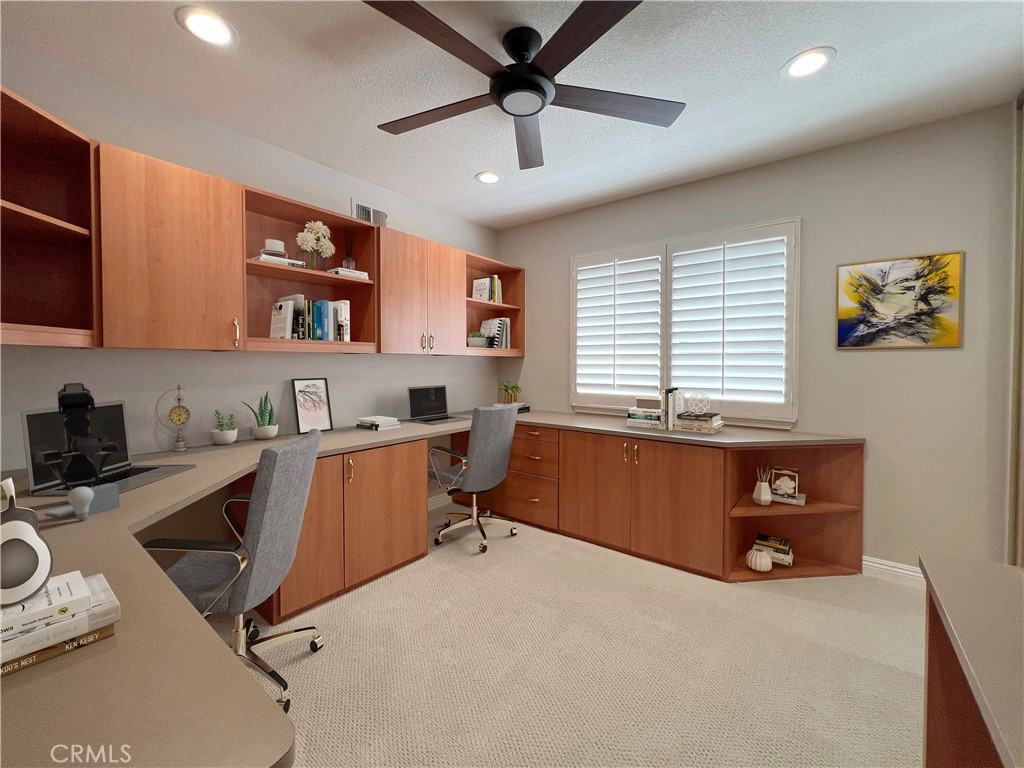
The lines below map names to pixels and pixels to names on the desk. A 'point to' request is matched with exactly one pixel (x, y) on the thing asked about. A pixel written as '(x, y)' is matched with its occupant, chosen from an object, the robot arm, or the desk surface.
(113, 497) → the blue-grey rectangular block
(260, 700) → the desk surface
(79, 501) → the lightbulb
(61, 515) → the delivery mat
